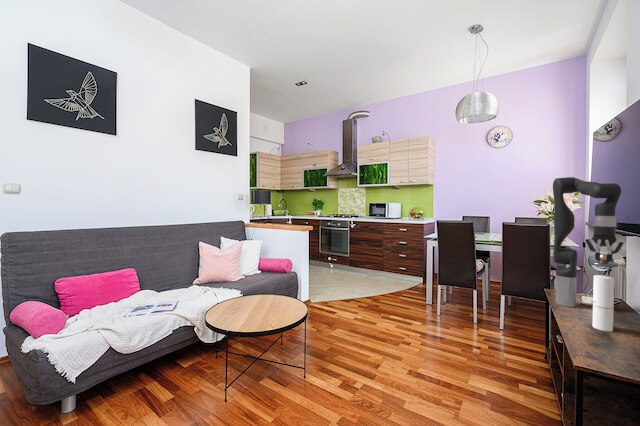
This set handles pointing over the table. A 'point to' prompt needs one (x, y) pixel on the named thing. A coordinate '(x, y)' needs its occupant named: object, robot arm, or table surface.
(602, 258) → the lid
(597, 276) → the cylindrical container
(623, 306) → the table surface
